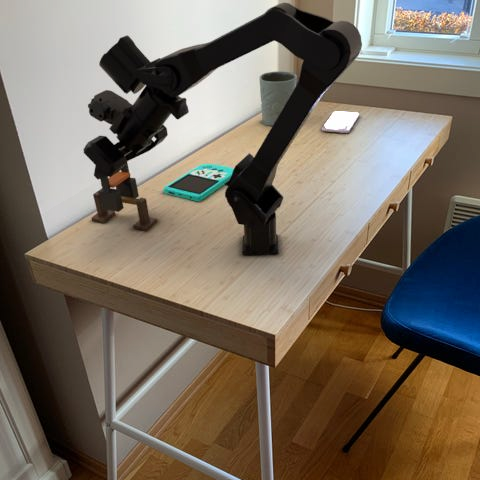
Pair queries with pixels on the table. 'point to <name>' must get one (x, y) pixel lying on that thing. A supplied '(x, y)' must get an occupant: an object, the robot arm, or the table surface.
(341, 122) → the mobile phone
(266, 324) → the table surface
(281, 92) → the grey green embossed cup
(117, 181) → the arch frame with shelf
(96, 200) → the wooden parallette bar
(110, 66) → the robot arm
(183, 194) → the handheld game console
